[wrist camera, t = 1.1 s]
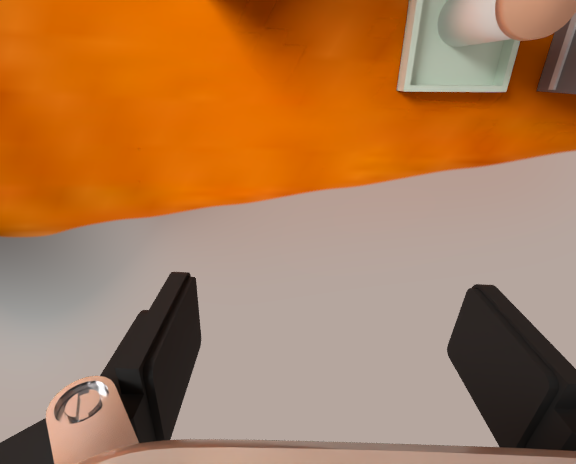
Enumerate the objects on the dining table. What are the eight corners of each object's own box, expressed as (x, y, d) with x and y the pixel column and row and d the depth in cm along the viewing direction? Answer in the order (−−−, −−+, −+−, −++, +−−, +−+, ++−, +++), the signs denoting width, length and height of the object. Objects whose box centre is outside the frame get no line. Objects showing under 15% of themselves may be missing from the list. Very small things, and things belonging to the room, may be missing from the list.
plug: (441, -13, 26) (518, -56, 18) (495, -13, 26) (601, -56, 17) (430, 49, 28) (495, 38, 19) (480, 49, 28) (569, 39, 19)
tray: (417, -64, 25) (427, -74, 24) (533, -63, 25) (551, -73, 24) (396, 90, 30) (403, 91, 29) (493, 90, 30) (506, 92, 29)
